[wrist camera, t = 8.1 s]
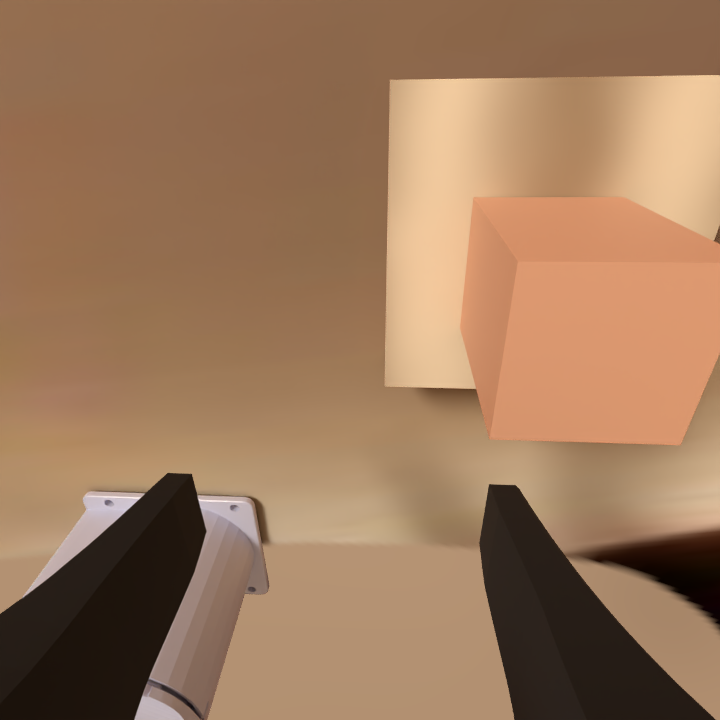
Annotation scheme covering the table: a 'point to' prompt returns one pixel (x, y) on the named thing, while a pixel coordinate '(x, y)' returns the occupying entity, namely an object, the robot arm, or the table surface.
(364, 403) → the table surface
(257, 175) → the table surface
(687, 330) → the terracotta block
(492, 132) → the birch base block
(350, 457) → the table surface
